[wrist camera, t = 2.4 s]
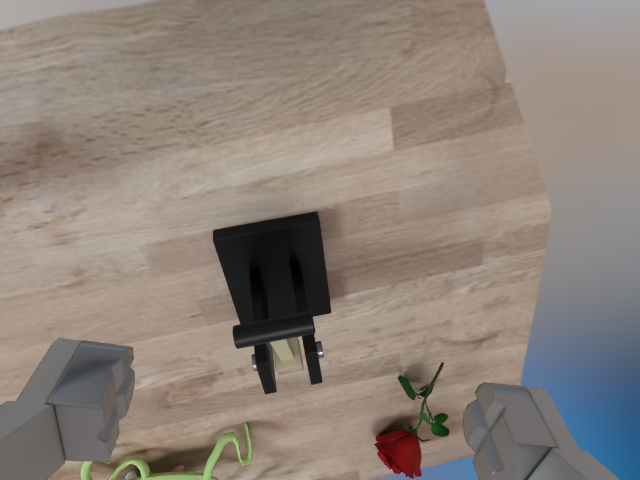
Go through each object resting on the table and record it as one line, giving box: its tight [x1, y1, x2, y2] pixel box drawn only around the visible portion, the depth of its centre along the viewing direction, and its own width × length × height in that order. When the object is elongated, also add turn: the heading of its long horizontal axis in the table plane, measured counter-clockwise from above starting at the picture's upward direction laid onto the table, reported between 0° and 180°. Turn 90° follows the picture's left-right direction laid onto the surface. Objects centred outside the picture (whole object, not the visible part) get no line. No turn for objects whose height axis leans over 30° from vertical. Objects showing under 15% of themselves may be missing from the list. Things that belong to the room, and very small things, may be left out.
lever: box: [233, 311, 315, 375], centre depth 34 cm, size 13×5×2 cm, turn 6°
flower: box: [374, 362, 449, 478], centre depth 64 cm, size 9×10×30 cm
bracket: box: [213, 212, 331, 394], centre depth 42 cm, size 13×10×13 cm
